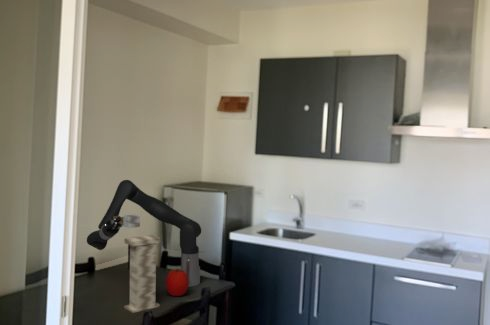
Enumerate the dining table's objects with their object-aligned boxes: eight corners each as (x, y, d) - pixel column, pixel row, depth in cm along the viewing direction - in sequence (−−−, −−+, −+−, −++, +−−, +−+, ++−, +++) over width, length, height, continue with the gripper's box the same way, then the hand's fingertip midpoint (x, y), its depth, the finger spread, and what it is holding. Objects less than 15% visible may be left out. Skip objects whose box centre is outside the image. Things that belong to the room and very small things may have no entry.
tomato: (176, 289, 265) (177, 264, 264) (193, 295, 257) (194, 269, 256) (159, 295, 256) (159, 268, 255) (176, 300, 248) (177, 273, 247)
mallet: (121, 220, 259) (121, 210, 258) (139, 226, 244) (140, 216, 244) (110, 221, 255) (110, 211, 254) (128, 228, 240) (128, 217, 240)
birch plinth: (150, 301, 246) (151, 235, 244) (159, 306, 240) (160, 238, 238) (123, 307, 237) (124, 238, 235) (132, 312, 231) (132, 241, 229)
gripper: (94, 224, 260) (107, 211, 247) (120, 221, 268) (134, 209, 256) (97, 238, 257) (111, 226, 245) (123, 235, 266) (137, 223, 254)
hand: (122, 217), depth 251 cm, fingers closed on mallet, 2 cm apart
